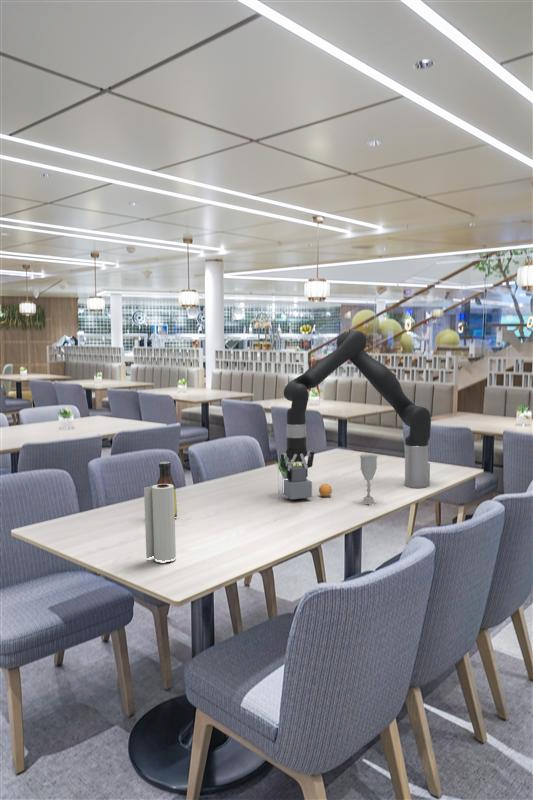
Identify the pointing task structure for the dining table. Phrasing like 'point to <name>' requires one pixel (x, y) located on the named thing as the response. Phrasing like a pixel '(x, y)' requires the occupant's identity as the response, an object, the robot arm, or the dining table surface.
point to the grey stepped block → (298, 484)
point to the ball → (325, 490)
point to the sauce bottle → (167, 479)
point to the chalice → (368, 473)
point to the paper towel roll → (160, 521)
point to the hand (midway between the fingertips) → (296, 478)
